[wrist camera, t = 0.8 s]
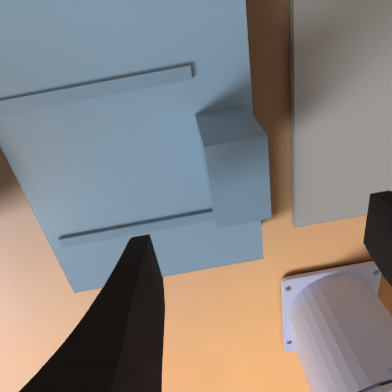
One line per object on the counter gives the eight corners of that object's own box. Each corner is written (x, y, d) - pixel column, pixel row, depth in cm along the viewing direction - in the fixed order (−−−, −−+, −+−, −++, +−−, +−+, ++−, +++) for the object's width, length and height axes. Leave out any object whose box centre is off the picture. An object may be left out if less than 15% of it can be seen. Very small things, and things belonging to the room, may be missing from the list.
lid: (259, 247, 23) (282, 308, 18) (78, 280, 23) (58, 348, 19) (236, -50, 14) (269, -67, 10) (-56, 5, 14) (-150, 12, 10)
